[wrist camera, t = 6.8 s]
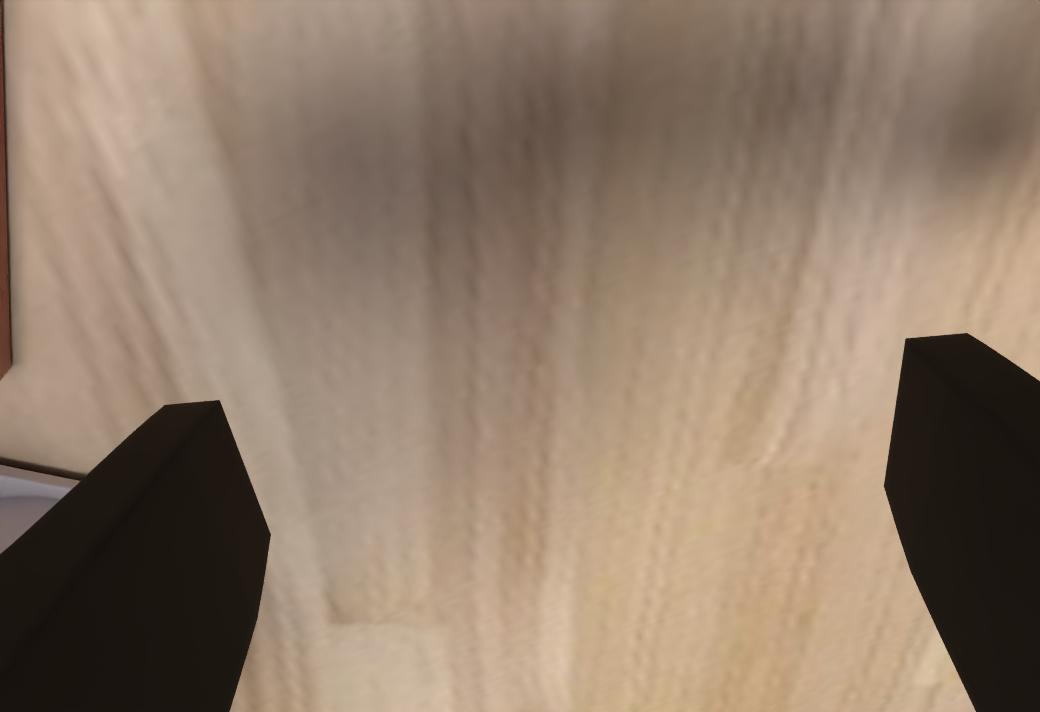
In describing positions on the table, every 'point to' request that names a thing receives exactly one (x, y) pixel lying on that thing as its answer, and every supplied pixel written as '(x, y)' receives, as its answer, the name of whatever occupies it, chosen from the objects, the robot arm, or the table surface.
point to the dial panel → (3, 240)
